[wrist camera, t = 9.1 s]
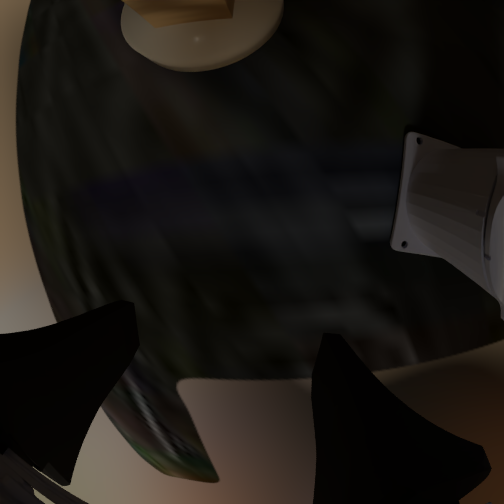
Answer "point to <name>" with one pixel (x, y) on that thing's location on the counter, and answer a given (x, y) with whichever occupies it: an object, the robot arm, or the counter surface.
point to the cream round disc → (204, 36)
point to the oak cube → (181, 10)
